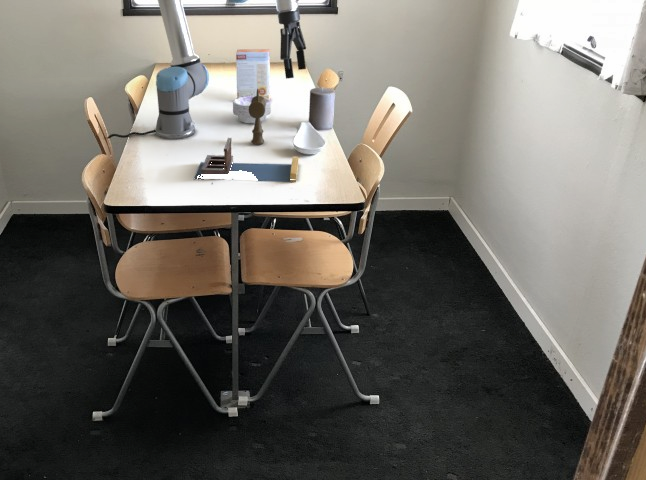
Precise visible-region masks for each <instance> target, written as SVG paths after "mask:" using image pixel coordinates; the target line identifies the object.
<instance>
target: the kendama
mask: <svg viewBox="0 0 646 480" xmlns="http://www.w3.org/2000/svg"><path fill="white" fill-rule="evenodd" d="M265 107H266V100H265V98H264V97H262V96H259V90H258V89H257V96H255V97H253V98H252V100H251V104H250V106H249V114H250V116H251V117H253V118H255V123H254V126H253V129H252V130H251V133H252V139H251V140H250V143H251V144H252V145H256V146H259V145H260V146H261V145H264V143H266V142H265V139H264V136H263V135H264V129H263V128H262V123H261V122H260V118H261V117H263V115H264V114H265Z"/></svg>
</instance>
